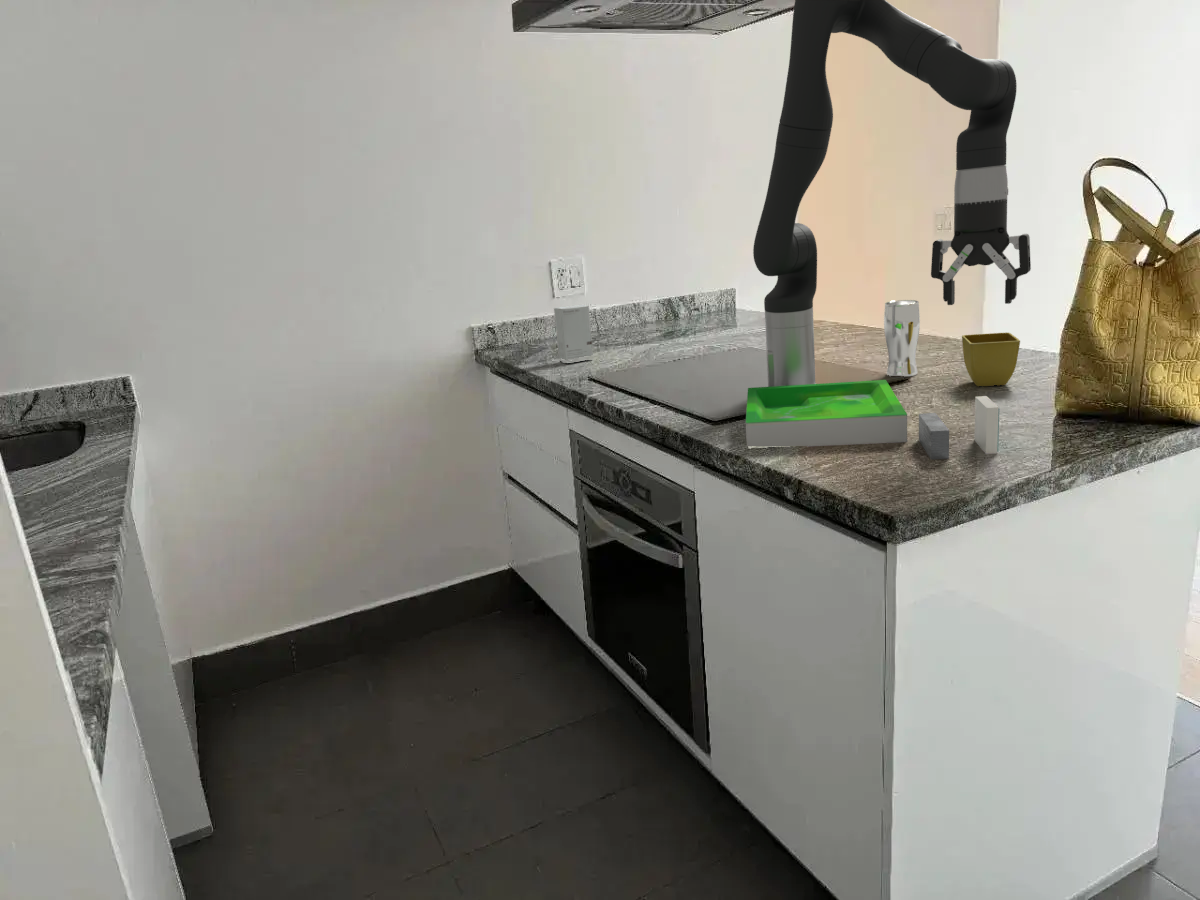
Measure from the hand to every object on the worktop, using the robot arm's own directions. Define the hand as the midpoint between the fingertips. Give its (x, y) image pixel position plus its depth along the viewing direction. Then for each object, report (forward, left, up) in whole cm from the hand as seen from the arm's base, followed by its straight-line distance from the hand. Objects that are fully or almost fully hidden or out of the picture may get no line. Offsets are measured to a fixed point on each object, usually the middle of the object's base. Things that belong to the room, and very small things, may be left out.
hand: (979, 303), depth 138 cm
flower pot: (+8, +26, -20) cm, 33 cm away
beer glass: (-6, +39, -20) cm, 44 cm away
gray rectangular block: (-9, -14, -20) cm, 26 cm away
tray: (-25, +3, -20) cm, 32 cm away
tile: (-2, -14, -20) cm, 24 cm away
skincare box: (-84, +80, -20) cm, 118 cm away
